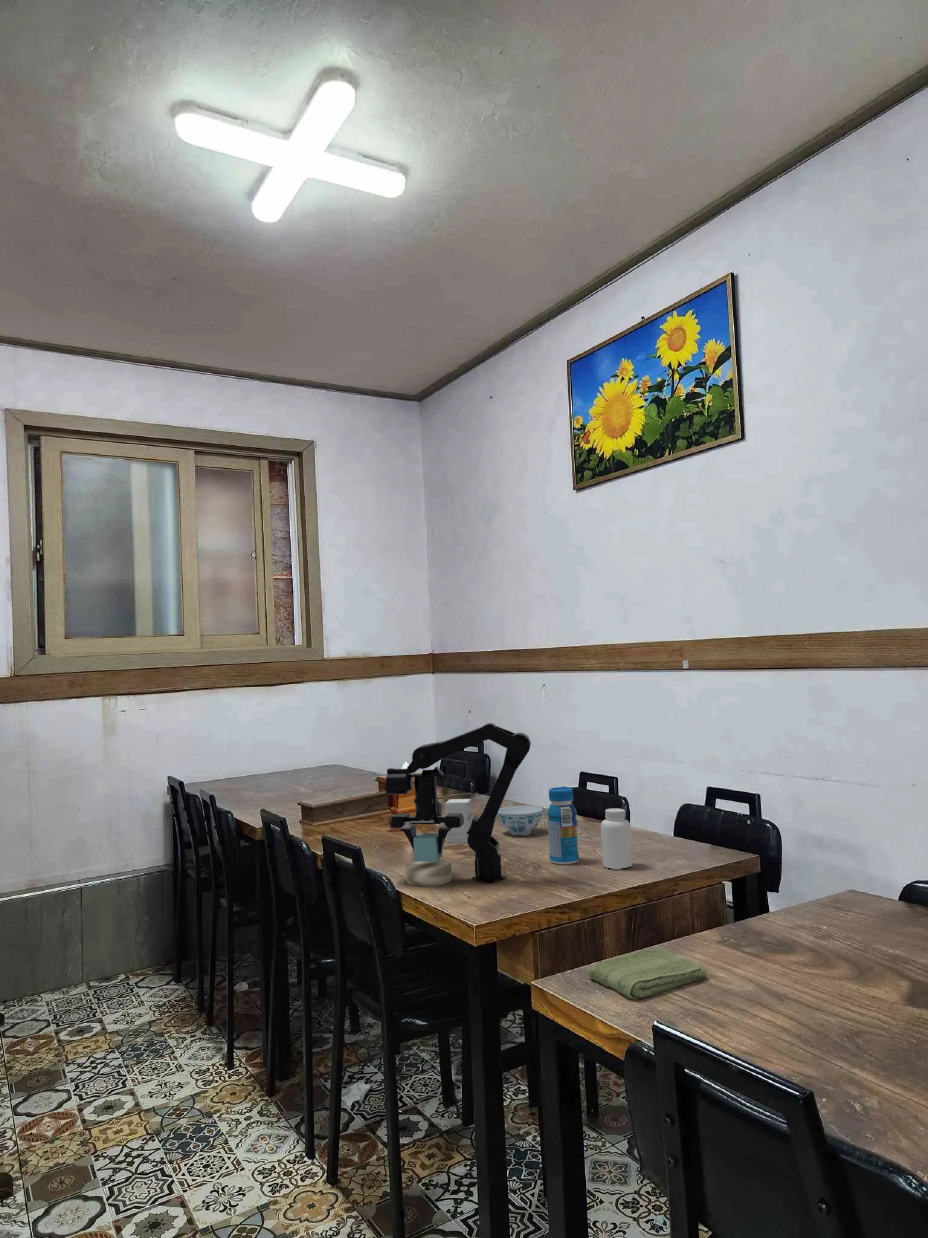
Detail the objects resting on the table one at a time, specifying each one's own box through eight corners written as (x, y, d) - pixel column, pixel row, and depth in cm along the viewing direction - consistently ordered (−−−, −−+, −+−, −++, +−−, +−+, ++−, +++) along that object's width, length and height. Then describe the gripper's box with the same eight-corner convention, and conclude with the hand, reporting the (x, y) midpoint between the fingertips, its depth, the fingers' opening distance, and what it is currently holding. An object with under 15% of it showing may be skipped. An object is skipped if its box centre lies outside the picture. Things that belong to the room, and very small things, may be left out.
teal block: (442, 856, 214) (441, 833, 214) (436, 861, 208) (435, 838, 208) (420, 856, 215) (419, 833, 215) (414, 861, 209) (413, 838, 209)
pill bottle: (638, 865, 217) (635, 809, 218) (622, 872, 211) (619, 813, 212) (613, 861, 222) (610, 806, 223) (596, 867, 216) (593, 811, 217)
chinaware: (513, 827, 275) (512, 804, 275) (552, 831, 266) (551, 807, 266) (488, 836, 263) (487, 812, 263) (528, 840, 254) (527, 815, 254)
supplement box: (468, 843, 253) (467, 802, 254) (445, 843, 255) (444, 802, 255) (473, 838, 260) (471, 798, 261) (450, 838, 262) (449, 798, 262)
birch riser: (461, 877, 212) (460, 862, 212) (431, 889, 202) (430, 872, 203) (426, 872, 219) (425, 857, 220) (396, 883, 210) (395, 868, 210)
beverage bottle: (544, 864, 223) (540, 790, 224) (555, 857, 230) (552, 786, 231) (573, 866, 219) (569, 791, 220) (583, 859, 226) (580, 787, 228)
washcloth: (712, 981, 139) (711, 962, 139) (633, 1006, 130) (632, 985, 130) (659, 958, 150) (658, 941, 150) (583, 980, 142) (582, 961, 142)
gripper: (466, 788, 218) (469, 847, 217) (400, 789, 222) (402, 847, 221) (458, 795, 207) (460, 857, 206) (388, 796, 211) (390, 856, 210)
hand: (428, 854), depth 211 cm, fingers closed on teal block, 6 cm apart
